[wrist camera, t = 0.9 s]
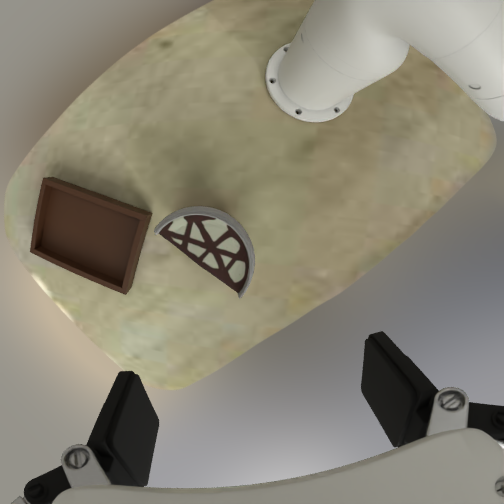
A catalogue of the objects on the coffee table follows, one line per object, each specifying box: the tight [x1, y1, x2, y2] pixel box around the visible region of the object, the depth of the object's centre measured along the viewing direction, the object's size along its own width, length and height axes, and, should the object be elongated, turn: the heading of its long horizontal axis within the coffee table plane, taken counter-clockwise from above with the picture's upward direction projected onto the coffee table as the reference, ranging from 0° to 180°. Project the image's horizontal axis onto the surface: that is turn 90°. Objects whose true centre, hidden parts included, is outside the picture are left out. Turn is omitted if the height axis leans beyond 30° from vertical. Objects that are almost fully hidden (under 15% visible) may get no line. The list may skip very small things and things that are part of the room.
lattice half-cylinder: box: [154, 206, 255, 299], centre depth 34 cm, size 12×6×10 cm, turn 50°
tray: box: [30, 177, 152, 295], centre depth 36 cm, size 12×18×3 cm, turn 68°
